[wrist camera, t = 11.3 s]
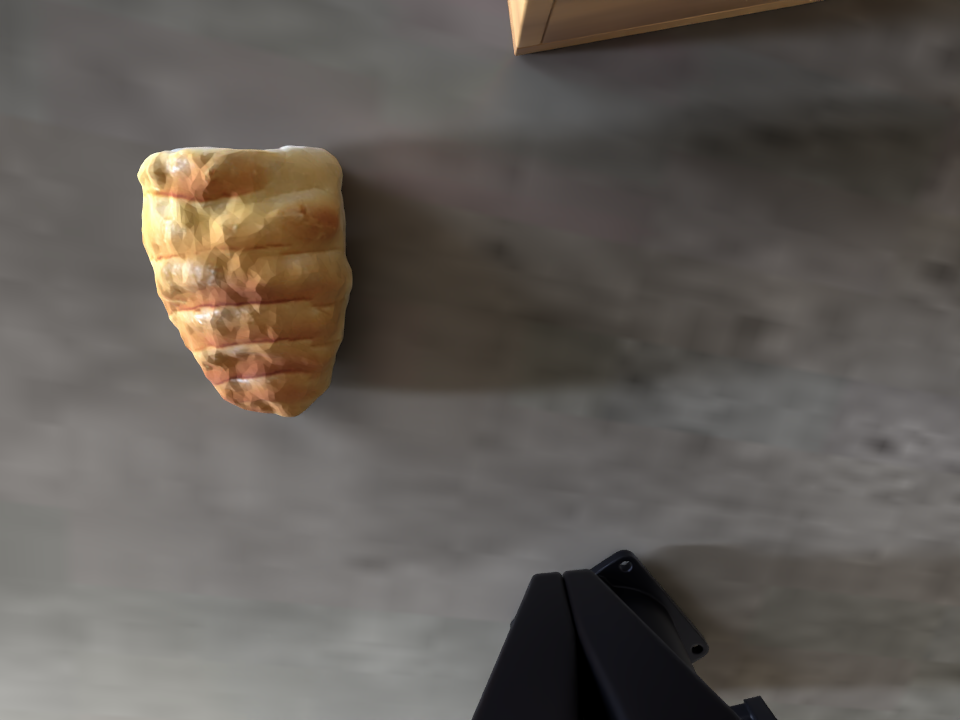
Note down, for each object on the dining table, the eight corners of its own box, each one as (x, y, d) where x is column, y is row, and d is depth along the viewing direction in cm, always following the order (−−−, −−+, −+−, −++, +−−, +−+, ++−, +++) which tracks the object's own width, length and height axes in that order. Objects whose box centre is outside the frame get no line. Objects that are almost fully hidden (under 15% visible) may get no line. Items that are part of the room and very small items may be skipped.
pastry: (376, 397, 21) (351, 437, 17) (208, 404, 21) (148, 446, 17) (346, 141, 18) (309, 123, 14) (155, 153, 18) (71, 138, 15)
